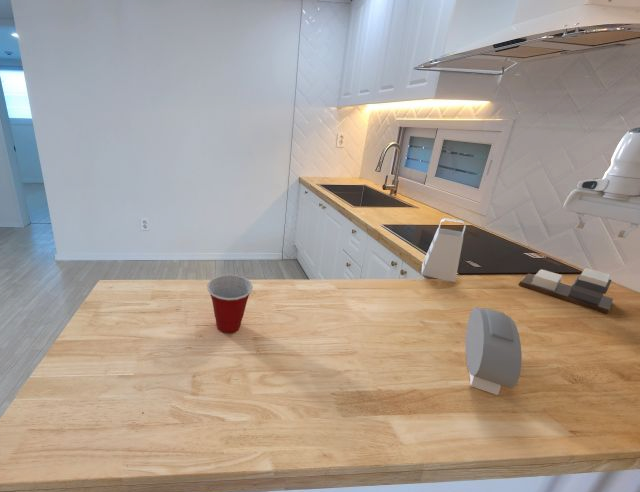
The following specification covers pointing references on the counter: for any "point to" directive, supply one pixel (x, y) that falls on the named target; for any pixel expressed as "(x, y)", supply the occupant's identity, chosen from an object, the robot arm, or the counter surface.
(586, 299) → the grey stack
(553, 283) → the white stack
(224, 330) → the plastic cup
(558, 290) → the shelf plank
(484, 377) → the alarm clock
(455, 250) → the grater
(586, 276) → the white book
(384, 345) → the counter surface
